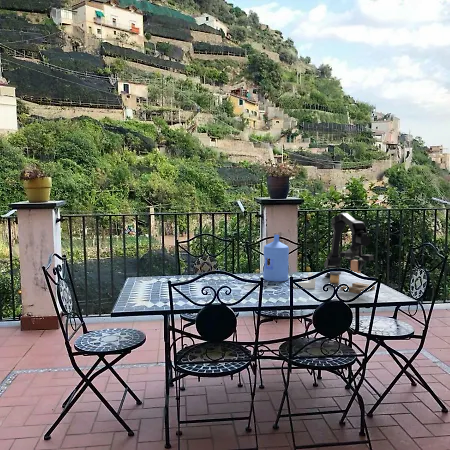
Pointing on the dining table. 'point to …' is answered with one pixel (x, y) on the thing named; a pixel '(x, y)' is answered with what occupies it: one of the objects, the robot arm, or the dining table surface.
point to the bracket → (307, 282)
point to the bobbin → (334, 278)
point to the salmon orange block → (354, 266)
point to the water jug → (276, 261)
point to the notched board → (357, 287)
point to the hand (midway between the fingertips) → (355, 271)
